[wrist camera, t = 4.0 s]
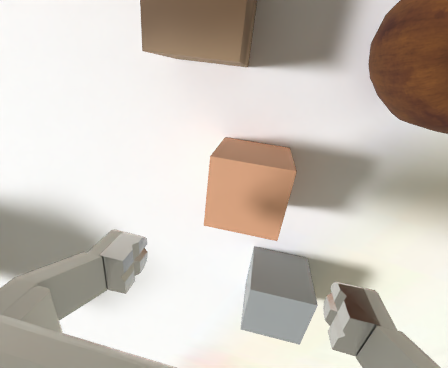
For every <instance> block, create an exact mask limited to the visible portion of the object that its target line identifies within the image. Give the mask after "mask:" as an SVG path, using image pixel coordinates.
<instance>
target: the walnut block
mask: <svg viewBox="0 0 448 368" xmlns="http://www.w3.org/2000/svg"><path fill="white" fill-rule="evenodd" d="M140 5H141V28H142V51H145V52H150V53H154V54H158V55H163V56H167V57H171V58H176V59H182V60H191V61H199V62H208V63H216V64H225V65H233V66H242V67H248V63H249V56H250V49H251V42H252V35H253V27H254V20H255V13H256V6H257V0H140Z"/></svg>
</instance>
